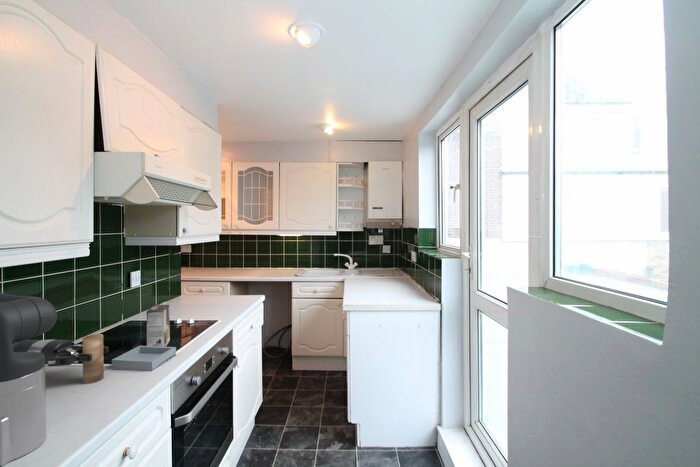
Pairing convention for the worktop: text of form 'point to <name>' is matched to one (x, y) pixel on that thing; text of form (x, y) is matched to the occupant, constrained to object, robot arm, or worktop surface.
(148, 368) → the tray
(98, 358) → the walnut dowel
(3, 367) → the robot arm
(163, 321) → the coffee box
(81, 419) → the worktop surface
